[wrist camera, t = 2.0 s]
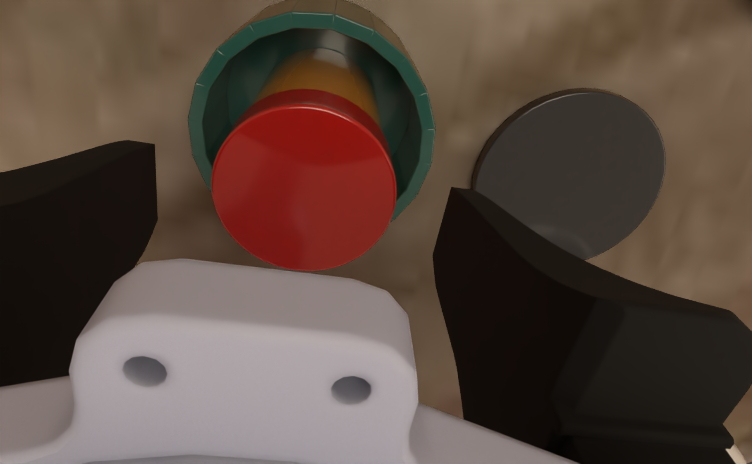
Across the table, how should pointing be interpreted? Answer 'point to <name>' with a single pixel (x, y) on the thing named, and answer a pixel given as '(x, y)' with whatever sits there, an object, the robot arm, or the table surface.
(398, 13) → the table surface
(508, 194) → the coaster
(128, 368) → the robot arm
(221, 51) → the cup
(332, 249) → the jar
